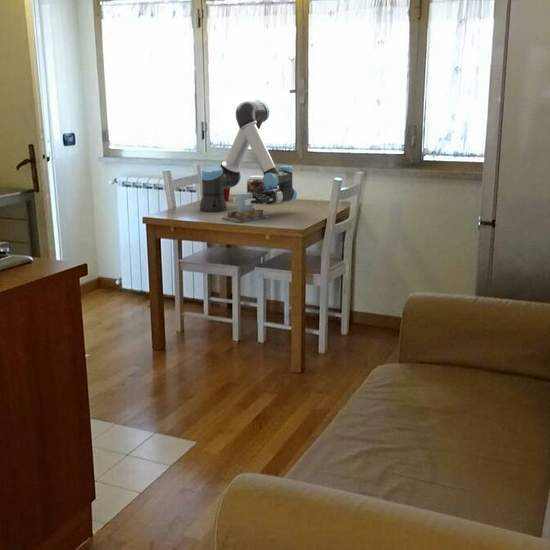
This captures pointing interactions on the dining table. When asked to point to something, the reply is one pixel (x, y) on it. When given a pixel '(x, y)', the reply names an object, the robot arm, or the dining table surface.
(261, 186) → the jar
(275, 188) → the blue gear
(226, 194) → the plastic cup
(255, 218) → the slot rack
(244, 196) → the pale grey panel
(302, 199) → the dining table surface
